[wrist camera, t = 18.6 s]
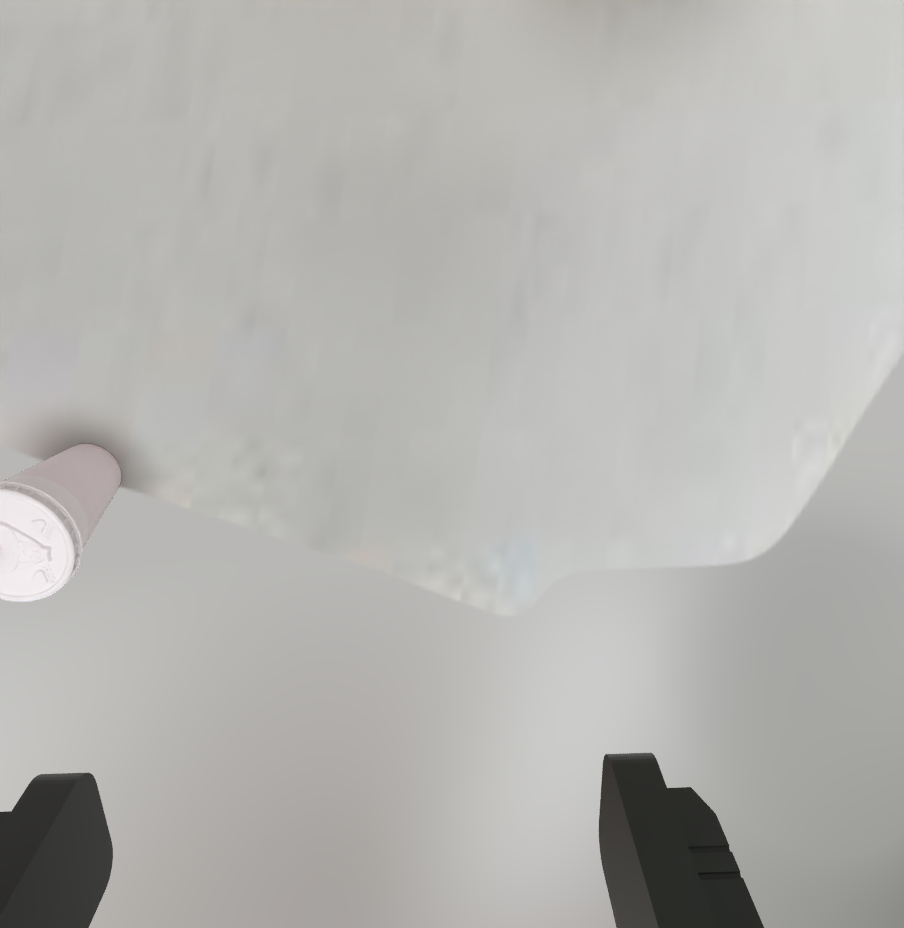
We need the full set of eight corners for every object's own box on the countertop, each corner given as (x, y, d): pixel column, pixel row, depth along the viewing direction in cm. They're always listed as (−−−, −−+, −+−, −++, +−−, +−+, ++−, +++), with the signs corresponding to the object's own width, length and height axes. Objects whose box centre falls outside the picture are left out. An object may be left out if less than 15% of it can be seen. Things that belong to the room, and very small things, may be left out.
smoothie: (34, 414, 45) (-128, 520, 32) (145, 431, 46) (30, 541, 33) (37, 511, 47) (-112, 646, 34) (143, 526, 48) (34, 664, 35)
